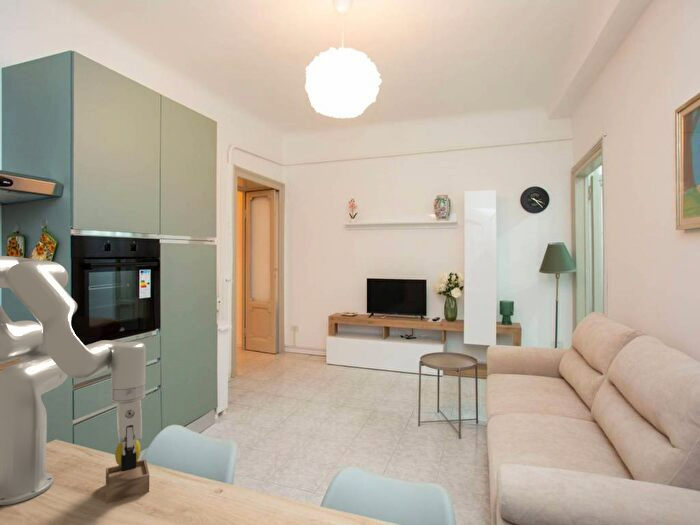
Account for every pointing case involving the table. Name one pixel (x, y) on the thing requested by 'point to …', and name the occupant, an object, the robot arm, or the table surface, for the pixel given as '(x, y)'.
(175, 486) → the table surface
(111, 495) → the walnut tray
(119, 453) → the lemon
